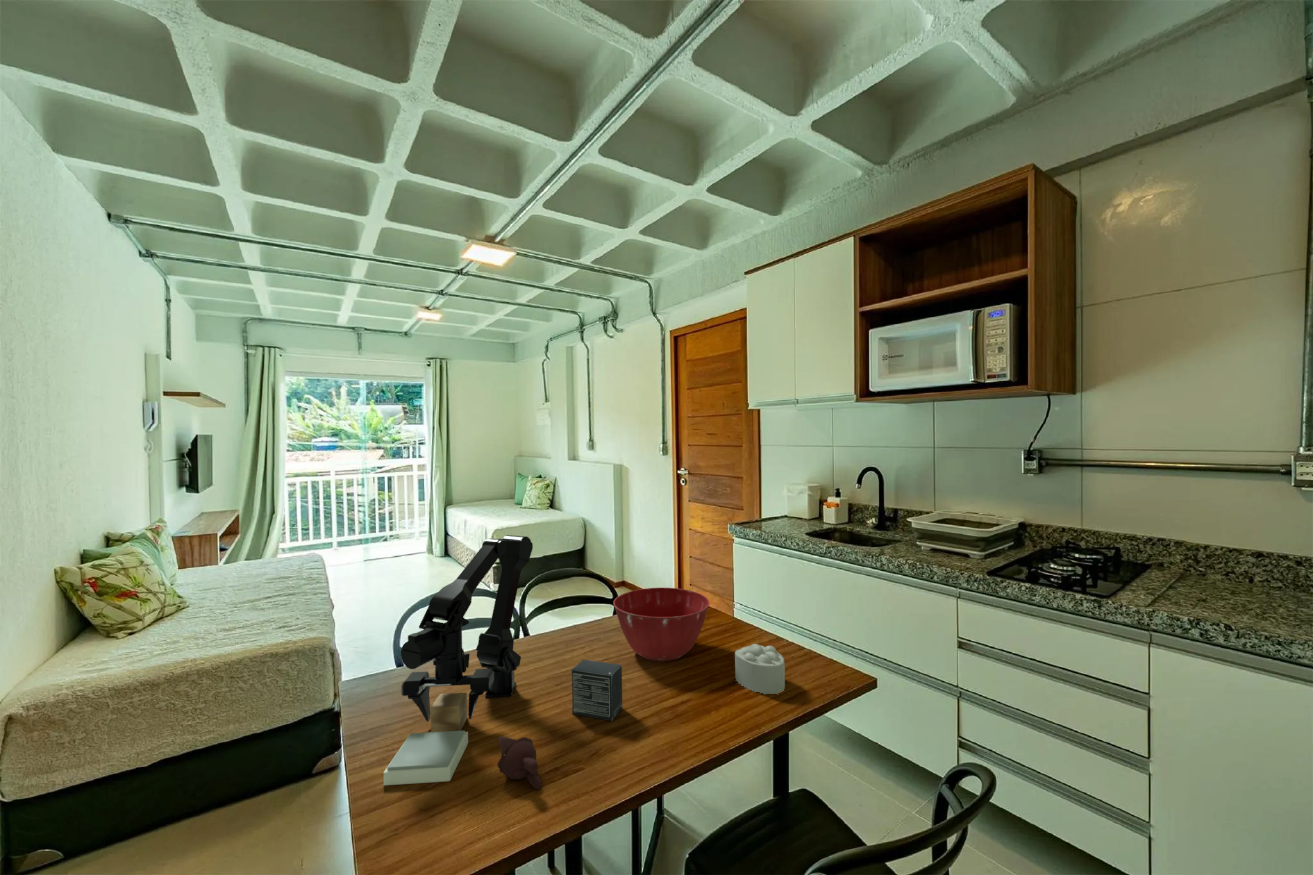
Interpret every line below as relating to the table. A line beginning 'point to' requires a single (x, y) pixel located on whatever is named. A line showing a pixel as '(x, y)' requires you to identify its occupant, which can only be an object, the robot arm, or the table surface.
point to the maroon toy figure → (519, 760)
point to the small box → (597, 689)
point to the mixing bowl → (661, 621)
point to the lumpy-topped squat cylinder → (760, 669)
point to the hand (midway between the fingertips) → (449, 719)
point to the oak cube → (449, 712)
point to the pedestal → (427, 758)
